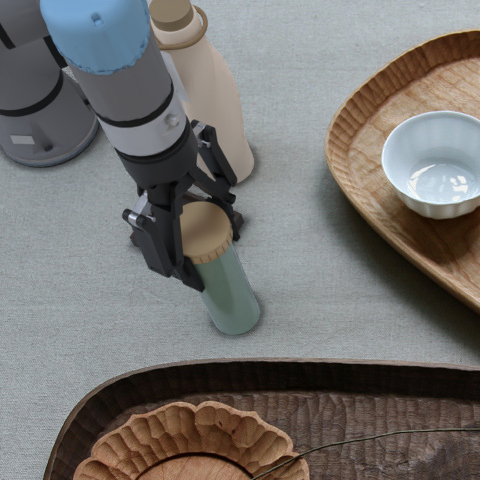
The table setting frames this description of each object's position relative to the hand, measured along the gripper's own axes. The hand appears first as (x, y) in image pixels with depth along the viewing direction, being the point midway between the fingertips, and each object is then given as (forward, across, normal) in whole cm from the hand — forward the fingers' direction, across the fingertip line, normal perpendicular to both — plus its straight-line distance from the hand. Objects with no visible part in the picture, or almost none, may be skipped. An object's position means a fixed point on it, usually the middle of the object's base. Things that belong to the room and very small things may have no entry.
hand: (212, 260), depth 97 cm
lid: (-6, 0, 0) cm, 6 cm away
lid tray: (+13, +8, +13) cm, 20 cm away
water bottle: (+13, +20, +14) cm, 28 cm away
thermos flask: (+13, 0, 0) cm, 13 cm away
